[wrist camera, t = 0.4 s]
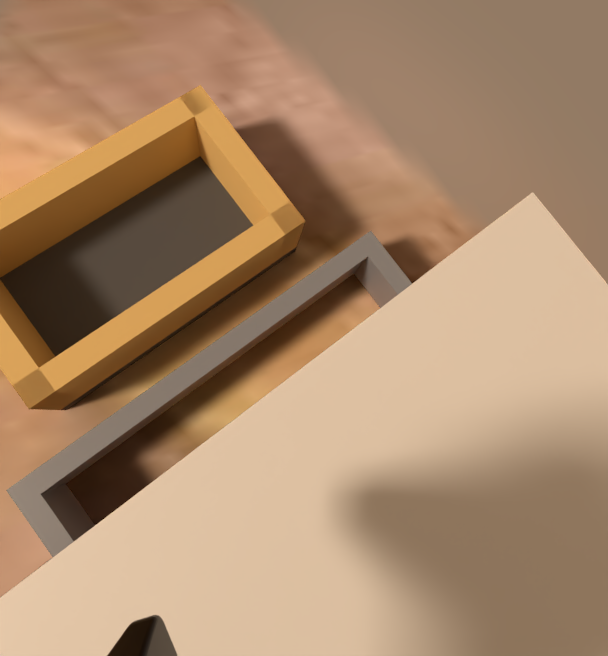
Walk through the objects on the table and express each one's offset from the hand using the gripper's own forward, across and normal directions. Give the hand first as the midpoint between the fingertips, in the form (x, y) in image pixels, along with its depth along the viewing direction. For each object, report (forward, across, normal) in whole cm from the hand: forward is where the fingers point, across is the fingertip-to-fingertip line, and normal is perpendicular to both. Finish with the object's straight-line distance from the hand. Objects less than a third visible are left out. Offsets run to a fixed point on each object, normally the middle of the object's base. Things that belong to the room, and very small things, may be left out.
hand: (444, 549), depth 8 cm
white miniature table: (+11, +2, +7) cm, 14 cm away
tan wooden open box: (+16, +7, -4) cm, 18 cm away
